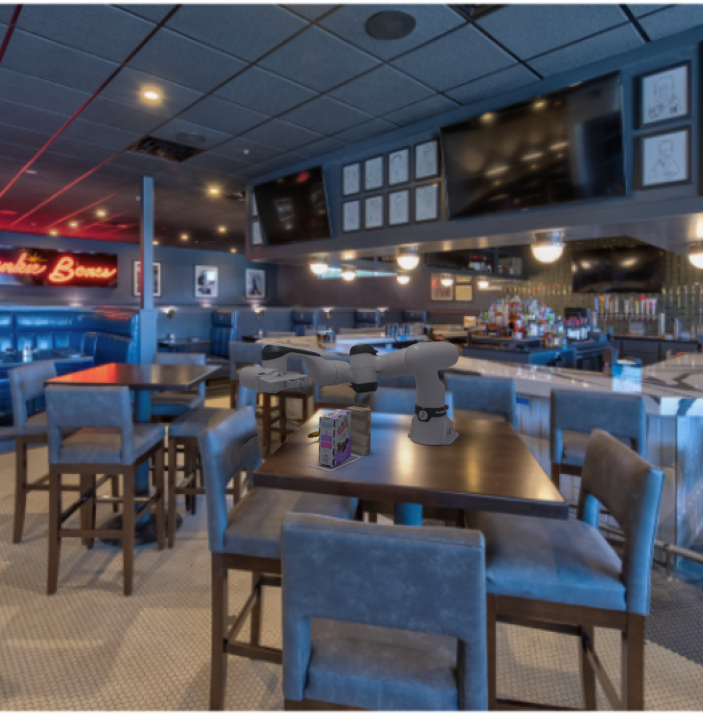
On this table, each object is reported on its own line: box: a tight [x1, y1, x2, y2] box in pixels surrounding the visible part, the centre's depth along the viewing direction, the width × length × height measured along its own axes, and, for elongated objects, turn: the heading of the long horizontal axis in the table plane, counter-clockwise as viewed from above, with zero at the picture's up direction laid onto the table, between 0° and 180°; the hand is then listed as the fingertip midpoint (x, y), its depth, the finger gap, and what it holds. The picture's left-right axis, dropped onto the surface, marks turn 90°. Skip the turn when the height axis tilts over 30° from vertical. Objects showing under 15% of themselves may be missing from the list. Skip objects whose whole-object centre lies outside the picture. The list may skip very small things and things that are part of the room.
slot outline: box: [308, 453, 364, 473], centre depth 158 cm, size 18×9×1 cm, turn 143°
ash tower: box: [346, 405, 372, 457], centre depth 167 cm, size 4×8×16 cm, turn 53°
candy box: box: [318, 408, 352, 468], centre depth 158 cm, size 14×6×16 cm, turn 155°
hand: (300, 384), depth 163 cm, fingers closed
